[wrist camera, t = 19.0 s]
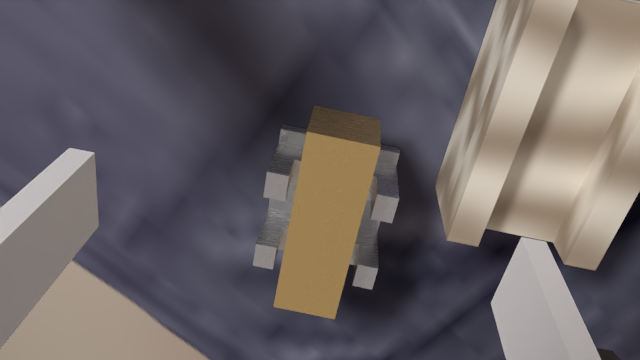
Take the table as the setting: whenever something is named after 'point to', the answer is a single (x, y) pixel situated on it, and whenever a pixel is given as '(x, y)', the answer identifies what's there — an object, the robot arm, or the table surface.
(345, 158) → the wooden block
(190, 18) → the table surface
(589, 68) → the beige channeled block
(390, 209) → the stand
